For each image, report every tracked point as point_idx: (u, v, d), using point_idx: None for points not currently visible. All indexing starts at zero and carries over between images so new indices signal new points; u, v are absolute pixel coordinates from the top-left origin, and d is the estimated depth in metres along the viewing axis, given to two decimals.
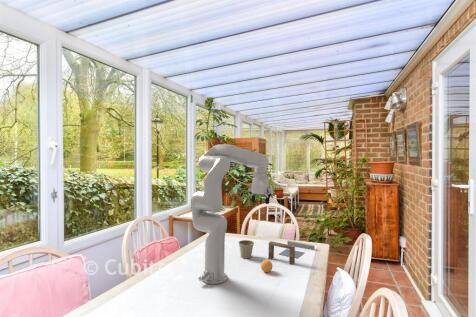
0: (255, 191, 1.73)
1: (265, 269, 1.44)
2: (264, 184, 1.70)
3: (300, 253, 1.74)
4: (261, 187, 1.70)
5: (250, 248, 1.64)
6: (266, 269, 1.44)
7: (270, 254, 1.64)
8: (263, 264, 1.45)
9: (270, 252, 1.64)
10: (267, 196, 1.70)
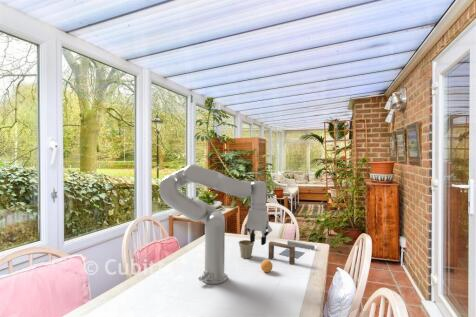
0: (251, 226, 1.37)
1: (265, 269, 1.44)
2: (263, 218, 1.34)
3: (300, 253, 1.74)
4: (259, 222, 1.35)
5: (250, 248, 1.64)
6: (266, 269, 1.44)
7: (270, 254, 1.64)
8: (263, 264, 1.45)
9: (270, 252, 1.64)
10: (263, 235, 1.35)
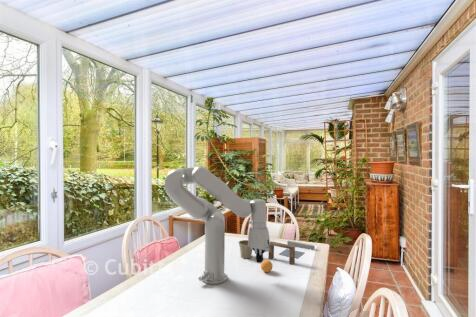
0: (252, 245, 1.37)
1: (265, 269, 1.44)
2: (263, 237, 1.34)
3: (300, 253, 1.74)
4: (260, 241, 1.35)
5: None
6: (266, 269, 1.44)
7: (270, 254, 1.64)
8: (263, 264, 1.45)
9: (270, 252, 1.64)
10: (260, 253, 1.36)
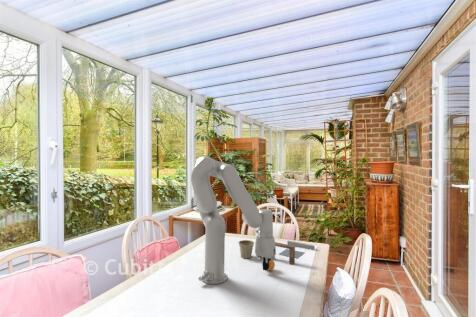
0: (259, 253, 1.43)
1: None
2: (270, 246, 1.40)
3: (300, 253, 1.74)
4: (266, 249, 1.41)
5: (250, 248, 1.64)
6: None
7: None
8: None
9: None
10: (266, 261, 1.42)
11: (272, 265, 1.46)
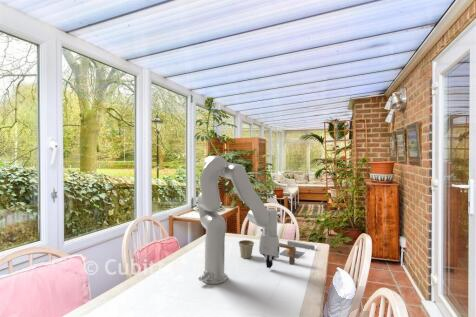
0: (263, 251, 1.47)
1: None
2: (274, 244, 1.44)
3: (300, 253, 1.74)
4: (270, 247, 1.45)
5: (250, 248, 1.64)
6: None
7: None
8: None
9: None
10: (270, 259, 1.47)
11: None
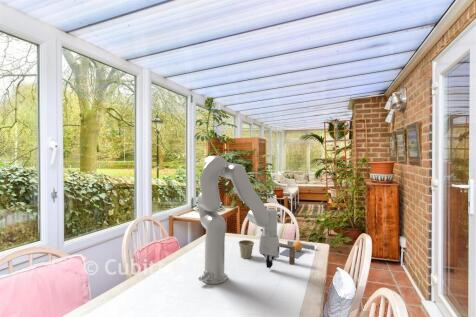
0: (263, 251, 1.47)
1: (297, 246, 1.76)
2: (274, 244, 1.44)
3: (300, 253, 1.74)
4: (270, 247, 1.45)
5: (250, 248, 1.64)
6: (298, 246, 1.76)
7: None
8: (296, 242, 1.78)
9: None
10: (270, 259, 1.47)
11: (300, 247, 1.76)
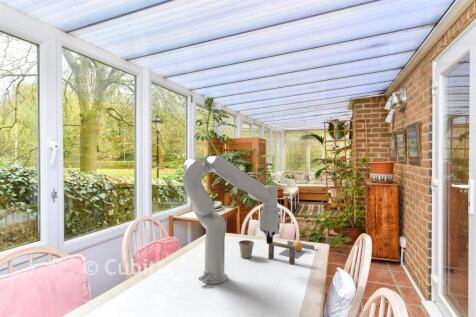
0: (264, 227, 1.47)
1: (297, 246, 1.76)
2: (274, 220, 1.44)
3: (300, 253, 1.74)
4: (271, 223, 1.45)
5: (250, 248, 1.64)
6: (298, 246, 1.76)
7: (270, 254, 1.64)
8: (296, 242, 1.78)
9: (270, 252, 1.64)
10: (270, 235, 1.47)
11: (300, 247, 1.76)
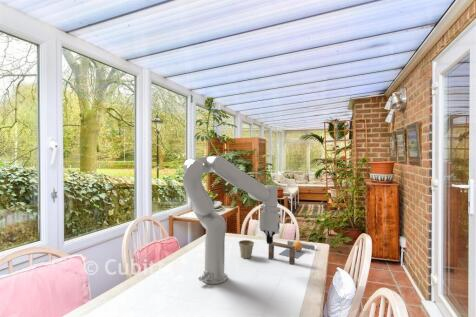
0: (264, 227, 1.47)
1: (297, 246, 1.76)
2: (274, 220, 1.44)
3: (300, 253, 1.74)
4: (271, 223, 1.45)
5: (250, 248, 1.64)
6: (298, 246, 1.76)
7: (270, 254, 1.64)
8: (296, 242, 1.78)
9: (270, 252, 1.64)
10: (270, 235, 1.47)
11: (300, 247, 1.76)
